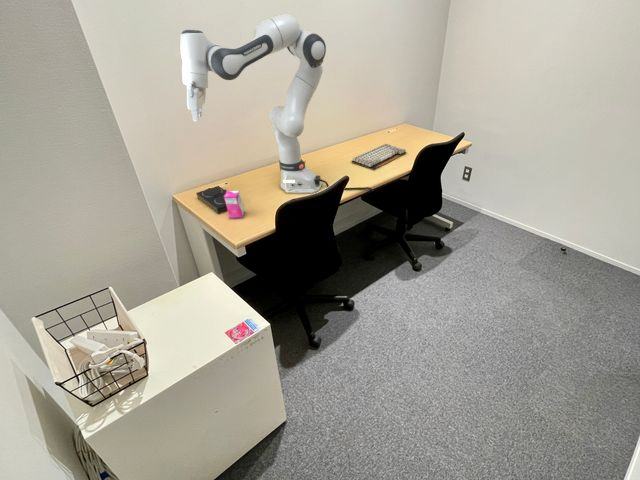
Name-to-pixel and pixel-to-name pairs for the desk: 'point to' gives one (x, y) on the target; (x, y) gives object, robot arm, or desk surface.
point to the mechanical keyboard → (378, 156)
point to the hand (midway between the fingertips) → (197, 118)
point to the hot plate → (214, 198)
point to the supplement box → (234, 204)
